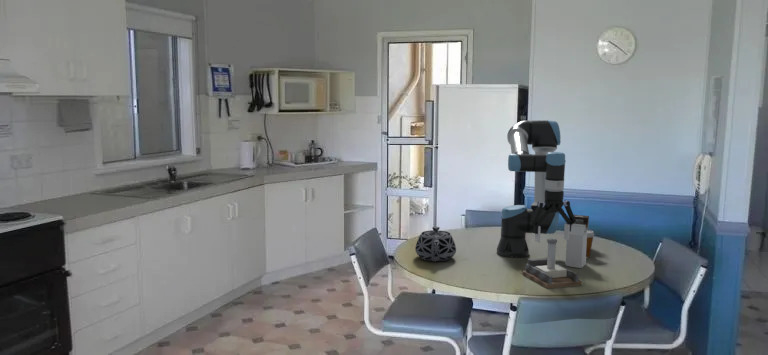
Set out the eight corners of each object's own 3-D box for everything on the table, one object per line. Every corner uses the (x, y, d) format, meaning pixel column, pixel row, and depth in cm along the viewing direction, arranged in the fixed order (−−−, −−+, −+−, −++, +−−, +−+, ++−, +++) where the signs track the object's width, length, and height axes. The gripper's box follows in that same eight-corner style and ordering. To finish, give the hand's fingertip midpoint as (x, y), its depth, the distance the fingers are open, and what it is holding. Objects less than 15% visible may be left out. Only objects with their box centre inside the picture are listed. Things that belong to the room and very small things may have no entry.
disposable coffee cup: (594, 258, 294) (595, 233, 293) (573, 257, 296) (574, 232, 295) (592, 253, 304) (593, 229, 302) (571, 252, 306) (572, 228, 304)
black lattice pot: (453, 249, 310) (454, 220, 308) (457, 267, 279) (458, 234, 277) (415, 249, 311) (415, 219, 309) (415, 266, 280) (415, 233, 278)
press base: (522, 274, 269) (522, 259, 268) (555, 271, 274) (555, 256, 273) (546, 288, 250) (547, 272, 249) (581, 285, 255) (582, 269, 254)
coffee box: (567, 247, 315) (569, 216, 313) (569, 244, 321) (570, 213, 319) (586, 249, 312) (588, 217, 309) (587, 246, 317) (589, 215, 315)
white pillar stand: (535, 273, 264) (536, 238, 262) (556, 271, 267) (557, 237, 265) (545, 278, 257) (546, 242, 255) (566, 276, 260) (568, 241, 258)
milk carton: (581, 268, 278) (583, 226, 276) (565, 266, 282) (567, 224, 279) (585, 264, 284) (587, 223, 282) (569, 262, 288) (571, 221, 285)
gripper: (531, 192, 250) (529, 244, 253) (586, 190, 257) (583, 240, 260) (522, 189, 257) (520, 240, 260) (575, 187, 264) (573, 236, 267)
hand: (552, 240), depth 260 cm, fingers open, 13 cm apart
